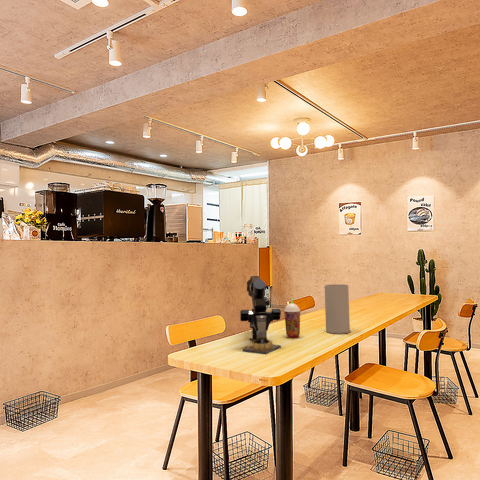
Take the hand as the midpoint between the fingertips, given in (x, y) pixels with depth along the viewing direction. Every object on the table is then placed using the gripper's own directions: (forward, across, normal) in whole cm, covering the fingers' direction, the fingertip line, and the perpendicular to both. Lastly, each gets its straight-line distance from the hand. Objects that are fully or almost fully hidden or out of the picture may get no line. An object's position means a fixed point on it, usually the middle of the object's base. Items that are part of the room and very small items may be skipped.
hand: (261, 330), depth 185 cm
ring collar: (+5, 0, +7) cm, 9 cm away
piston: (+4, 0, +6) cm, 7 cm away
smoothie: (-11, +18, +24) cm, 32 cm away
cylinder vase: (-17, +44, +31) cm, 56 cm away
